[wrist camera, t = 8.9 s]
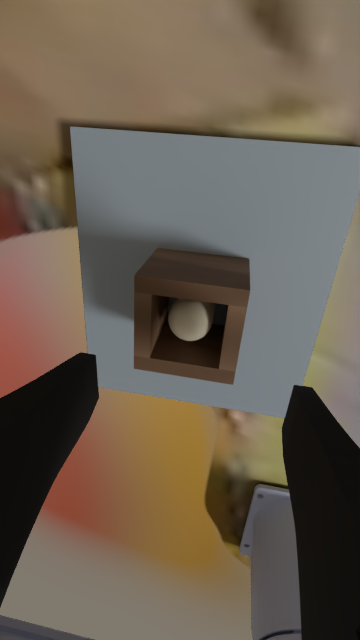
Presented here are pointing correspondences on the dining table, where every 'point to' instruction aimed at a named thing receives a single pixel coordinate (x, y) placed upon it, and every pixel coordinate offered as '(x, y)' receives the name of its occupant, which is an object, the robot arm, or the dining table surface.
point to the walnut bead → (193, 284)
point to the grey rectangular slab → (212, 249)
